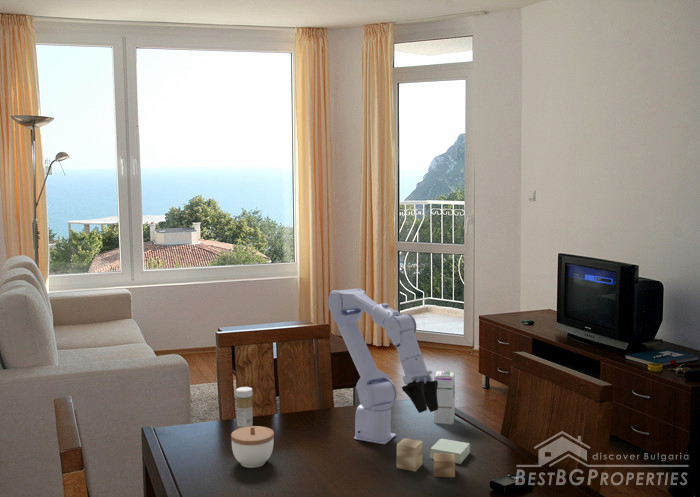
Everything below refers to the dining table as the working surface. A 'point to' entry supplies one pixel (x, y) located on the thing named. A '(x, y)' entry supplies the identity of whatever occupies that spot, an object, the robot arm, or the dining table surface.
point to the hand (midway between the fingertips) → (428, 411)
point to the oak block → (444, 465)
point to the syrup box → (445, 397)
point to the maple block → (409, 454)
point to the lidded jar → (252, 445)
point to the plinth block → (451, 449)
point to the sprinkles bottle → (244, 407)
